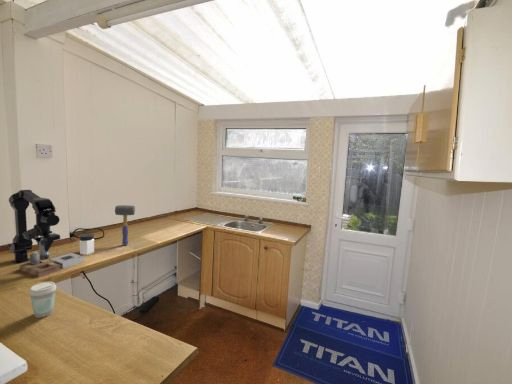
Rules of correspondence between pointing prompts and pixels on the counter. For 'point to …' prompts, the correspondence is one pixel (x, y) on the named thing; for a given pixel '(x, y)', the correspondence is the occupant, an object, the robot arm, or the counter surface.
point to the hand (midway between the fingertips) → (44, 250)
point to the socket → (67, 260)
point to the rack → (38, 266)
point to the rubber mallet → (125, 219)
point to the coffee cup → (43, 298)
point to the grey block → (43, 251)
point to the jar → (86, 244)
